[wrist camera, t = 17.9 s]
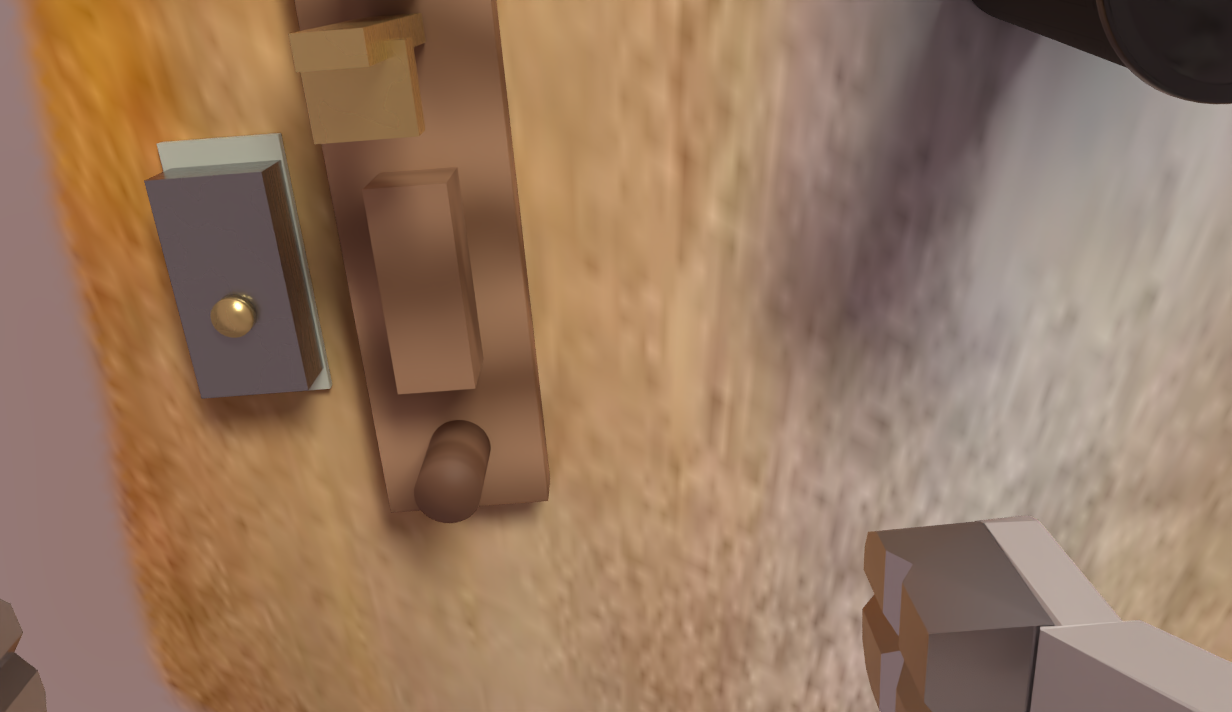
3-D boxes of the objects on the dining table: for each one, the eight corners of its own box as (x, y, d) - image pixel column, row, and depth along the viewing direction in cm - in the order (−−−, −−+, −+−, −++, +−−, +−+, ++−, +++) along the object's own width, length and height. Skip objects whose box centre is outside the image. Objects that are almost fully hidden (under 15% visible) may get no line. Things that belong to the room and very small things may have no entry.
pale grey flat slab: (332, 384, 42) (330, 388, 41) (224, 393, 42) (220, 397, 41) (281, 133, 38) (278, 134, 37) (160, 142, 38) (156, 143, 37)
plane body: (550, 478, 44) (541, 582, 36) (399, 489, 44) (360, 595, 36) (485, -93, 35) (456, -110, 27) (295, -79, 35) (215, -92, 27)
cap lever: (451, 105, 35) (404, 150, 26) (365, 112, 35) (291, 159, 26) (438, 11, 34) (385, 26, 25) (349, 18, 34) (265, 35, 25)
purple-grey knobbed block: (323, 367, 41) (305, 395, 38) (222, 375, 41) (197, 403, 38) (280, 159, 38) (256, 174, 35) (170, 168, 38) (138, 183, 35)
